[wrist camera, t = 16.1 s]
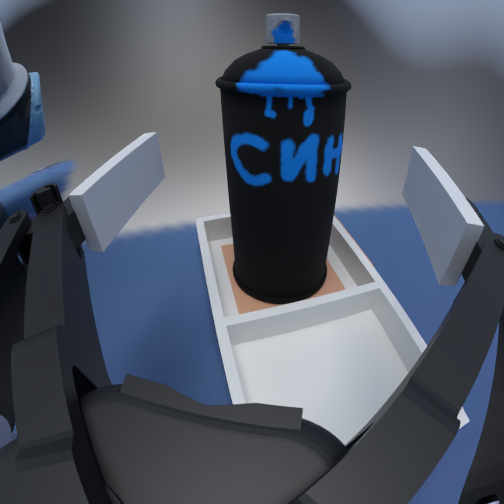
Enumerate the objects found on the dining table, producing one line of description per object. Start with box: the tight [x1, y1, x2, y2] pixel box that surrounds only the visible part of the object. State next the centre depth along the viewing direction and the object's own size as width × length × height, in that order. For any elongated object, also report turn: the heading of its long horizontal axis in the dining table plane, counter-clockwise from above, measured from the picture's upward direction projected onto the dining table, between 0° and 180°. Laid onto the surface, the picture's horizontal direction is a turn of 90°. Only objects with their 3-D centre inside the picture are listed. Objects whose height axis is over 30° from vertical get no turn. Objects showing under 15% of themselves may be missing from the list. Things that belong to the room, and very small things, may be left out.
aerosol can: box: [216, 14, 351, 304], centre depth 19 cm, size 8×8×20 cm
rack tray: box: [196, 213, 469, 445], centre depth 21 cm, size 25×13×4 cm, turn 14°
